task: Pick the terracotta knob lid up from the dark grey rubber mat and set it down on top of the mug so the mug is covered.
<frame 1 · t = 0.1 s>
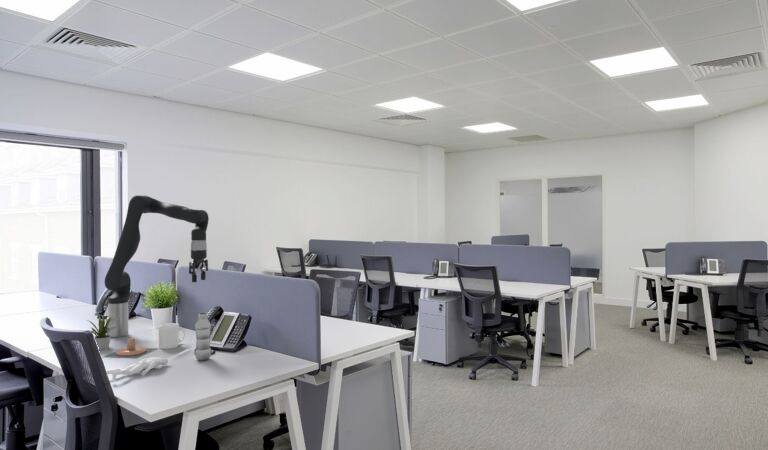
hand: (198, 281, 242), 29 cm above the table, tool pointing down, fingers open, 8 cm apart
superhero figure: (139, 374, 188), on the table
lid: (131, 352, 213), point 1 cm above the table, touching mat
plastic bottle: (203, 360, 205), on the table
house plant: (105, 350, 221), on the table
mug: (172, 347, 226), on the table
mat: (131, 354, 213), on the table
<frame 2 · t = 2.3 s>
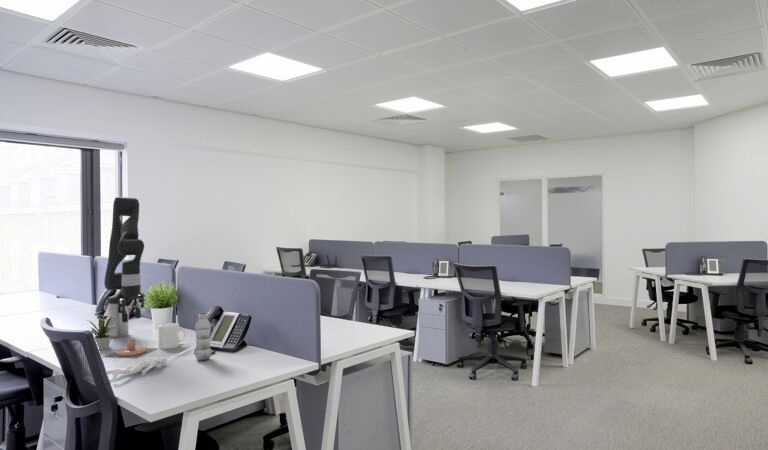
hand: (131, 320, 213), 15 cm above the table, tool pointing down, fingers open, 8 cm apart
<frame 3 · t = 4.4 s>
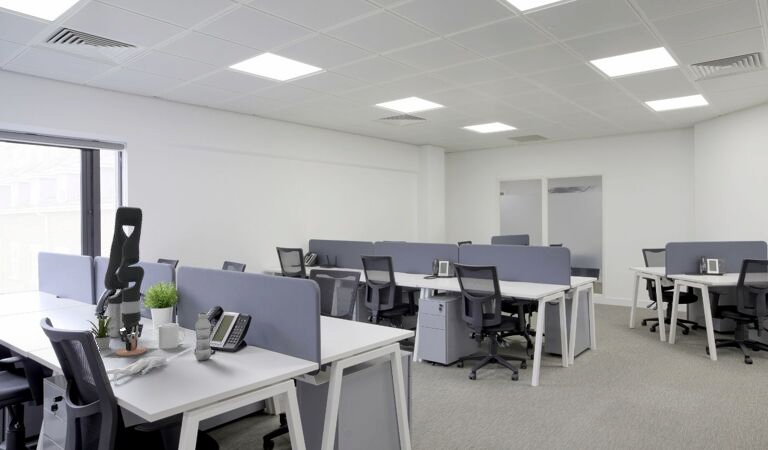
hand: (131, 349, 213), 2 cm above the table, tool pointing down, fingers closed on lid, 3 cm apart
lid: (131, 352, 213), point 1 cm above the table, touching gripper, mat
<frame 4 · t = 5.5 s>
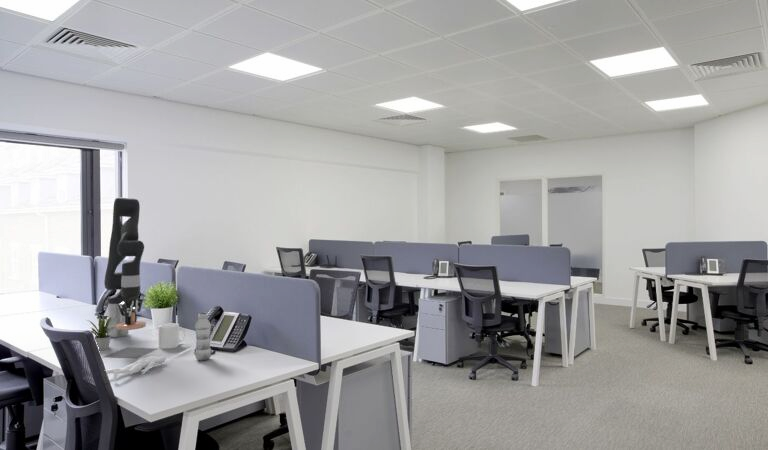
hand: (130, 323, 213), 14 cm above the table, tool pointing down, fingers closed on lid, 3 cm apart
lid: (131, 326, 213), point 12 cm above the table, touching gripper
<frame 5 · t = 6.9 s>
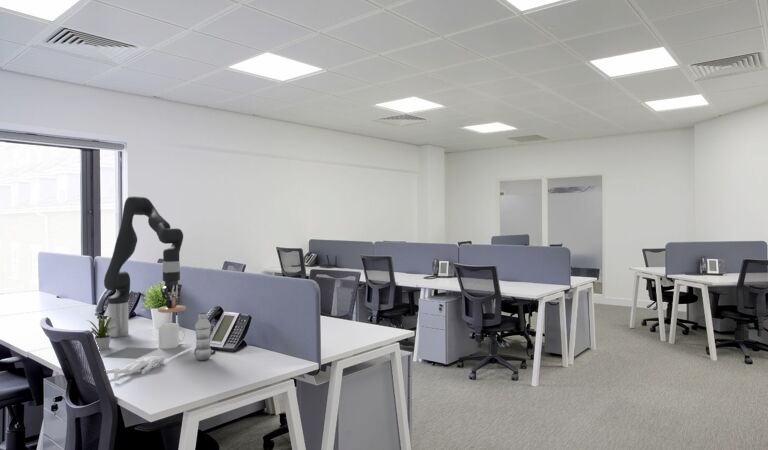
hand: (171, 306, 225), 19 cm above the table, tool pointing down, fingers closed on lid, 3 cm apart
lid: (171, 310, 225), point 18 cm above the table, touching gripper
when the fingers open (14 cm above the table, at t = 8.4 s): lid stays where it is, point 12 cm above the table.
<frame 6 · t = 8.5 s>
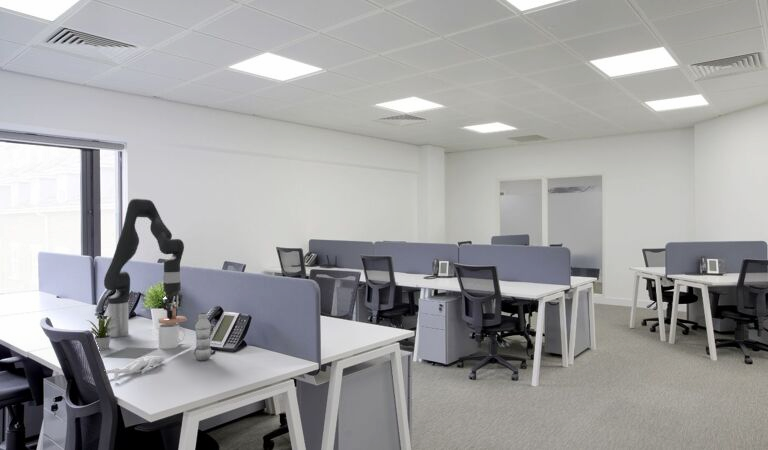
hand: (172, 317, 226), 14 cm above the table, tool pointing down, fingers open, 3 cm apart
lid: (172, 320, 226), point 12 cm above the table
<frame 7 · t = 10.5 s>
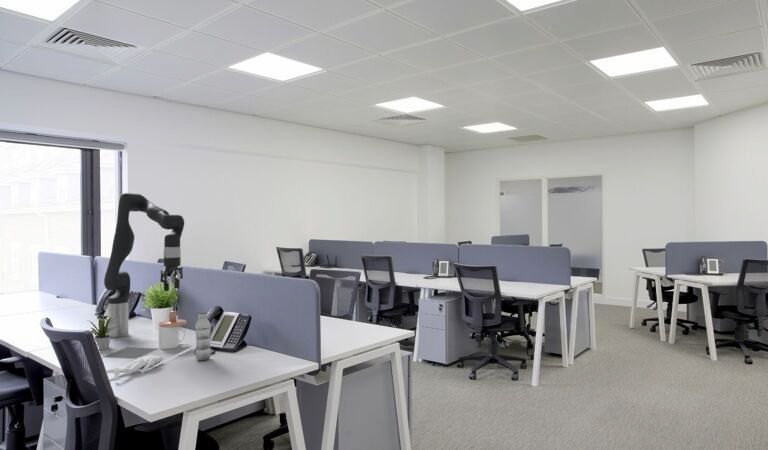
hand: (171, 289, 230), 27 cm above the table, tool pointing down, fingers open, 8 cm apart
lid: (172, 324, 226), point 11 cm above the table, touching mug
mug: (172, 347, 226), on the table, touching lid
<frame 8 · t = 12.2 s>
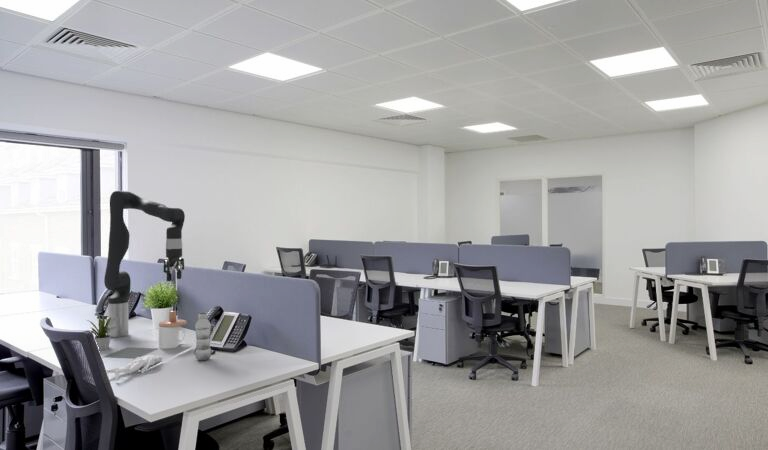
hand: (174, 279, 239), 30 cm above the table, tool pointing down, fingers open, 8 cm apart
at the end: lid 0.3 cm off-centre on the mug, point 10.9 cm above the mug's base; lid tilted 0°; the gripper is holding nothing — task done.
